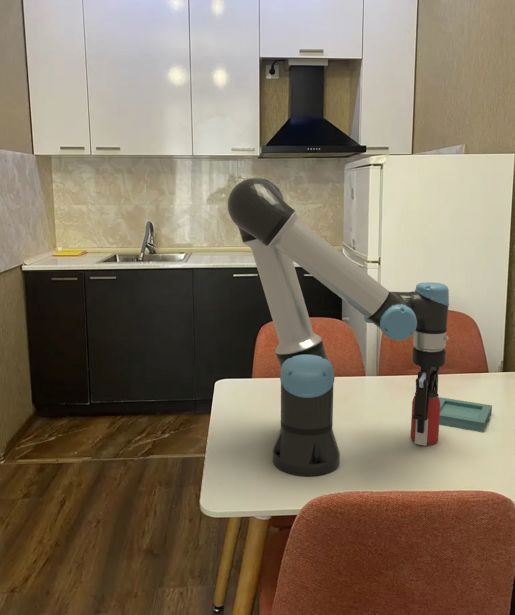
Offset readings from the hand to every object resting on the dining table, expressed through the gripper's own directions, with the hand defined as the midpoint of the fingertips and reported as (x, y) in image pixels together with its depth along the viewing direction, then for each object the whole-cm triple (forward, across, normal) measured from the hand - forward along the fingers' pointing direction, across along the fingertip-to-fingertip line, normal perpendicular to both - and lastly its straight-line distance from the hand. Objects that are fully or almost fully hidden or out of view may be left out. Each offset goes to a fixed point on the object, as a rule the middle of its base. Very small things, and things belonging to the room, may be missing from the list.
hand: (424, 438), depth 149 cm
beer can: (+1, 0, 0) cm, 1 cm away
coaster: (0, +19, -5) cm, 20 cm away
